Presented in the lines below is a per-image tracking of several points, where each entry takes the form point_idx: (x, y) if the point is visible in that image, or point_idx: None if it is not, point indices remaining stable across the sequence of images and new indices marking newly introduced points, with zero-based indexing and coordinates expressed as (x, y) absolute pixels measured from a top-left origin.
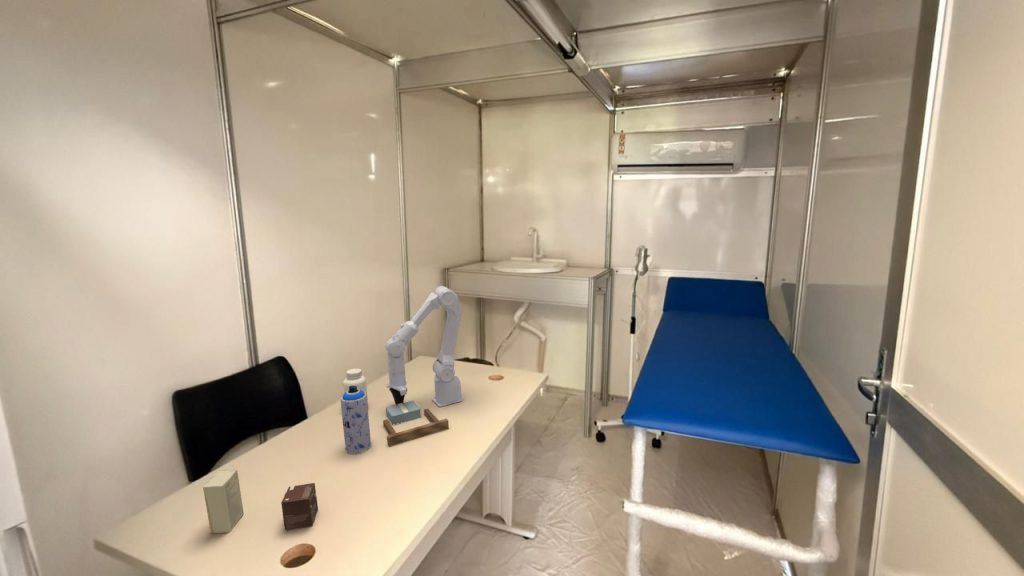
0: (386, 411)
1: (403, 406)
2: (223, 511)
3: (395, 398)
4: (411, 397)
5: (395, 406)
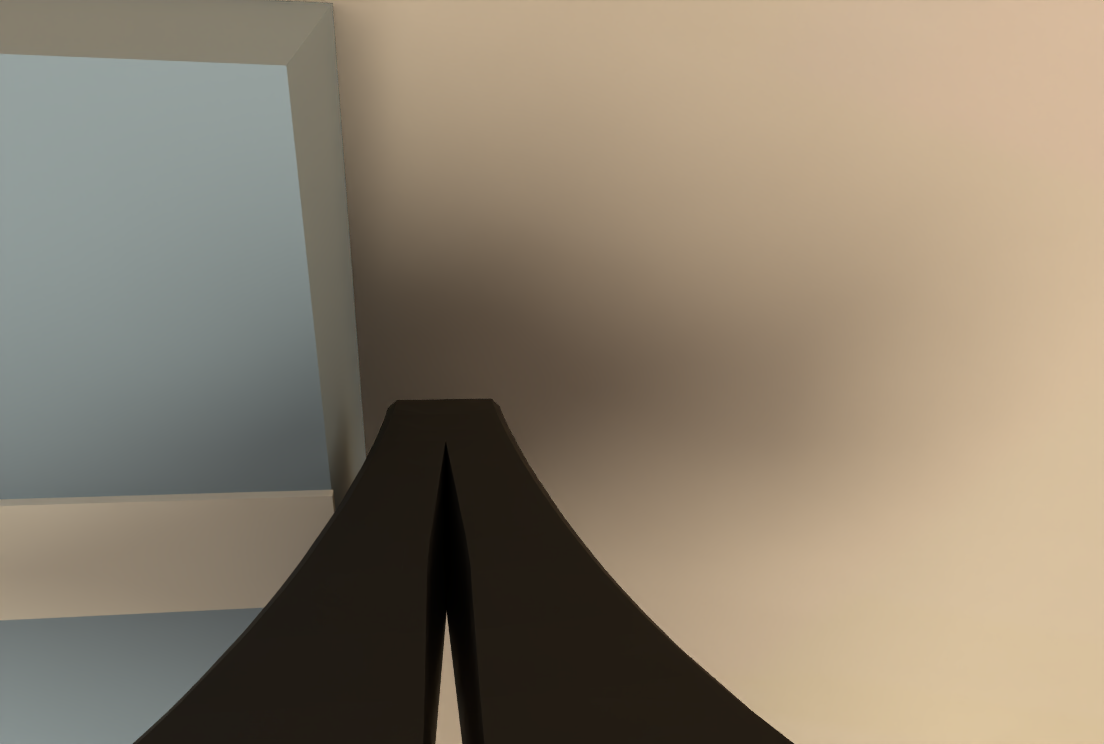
0: (250, 30)
1: (47, 595)
2: None
3: (232, 656)
4: (856, 671)
5: (184, 404)
